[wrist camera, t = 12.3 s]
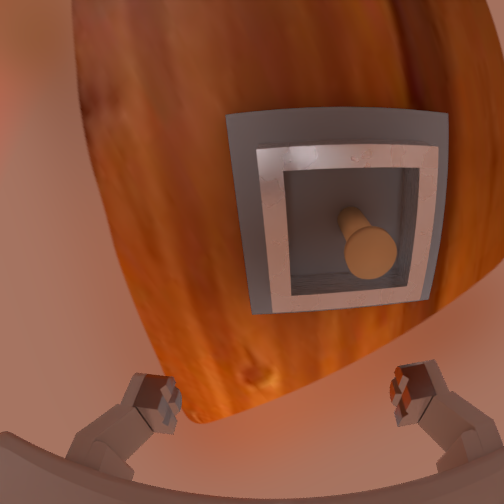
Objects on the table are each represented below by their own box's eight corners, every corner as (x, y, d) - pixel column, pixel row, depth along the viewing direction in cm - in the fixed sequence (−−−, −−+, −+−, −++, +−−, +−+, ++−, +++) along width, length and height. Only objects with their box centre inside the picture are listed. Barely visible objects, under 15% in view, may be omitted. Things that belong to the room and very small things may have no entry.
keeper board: (228, 114, 22) (206, 117, 15) (439, 112, 20) (494, 120, 13) (253, 305, 30) (246, 363, 23) (423, 291, 28) (453, 341, 21)
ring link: (258, 144, 21) (256, 149, 19) (420, 141, 20) (438, 146, 17) (273, 292, 27) (272, 312, 24) (408, 281, 26) (420, 299, 23)
